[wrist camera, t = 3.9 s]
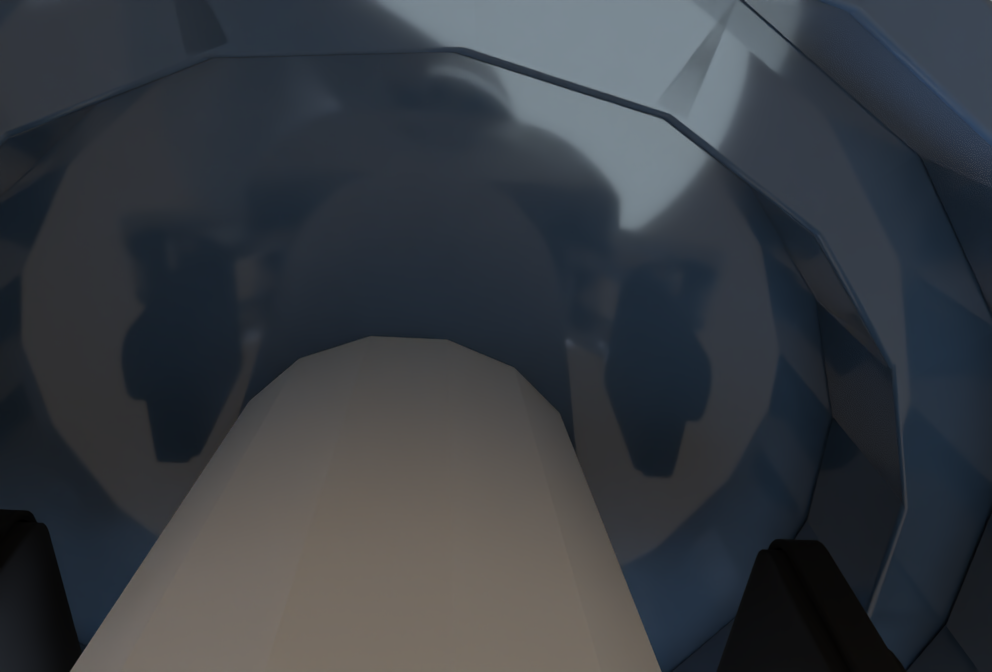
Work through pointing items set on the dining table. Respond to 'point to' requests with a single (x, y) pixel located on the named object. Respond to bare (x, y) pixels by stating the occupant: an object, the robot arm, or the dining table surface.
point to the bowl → (525, 268)
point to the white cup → (383, 533)
